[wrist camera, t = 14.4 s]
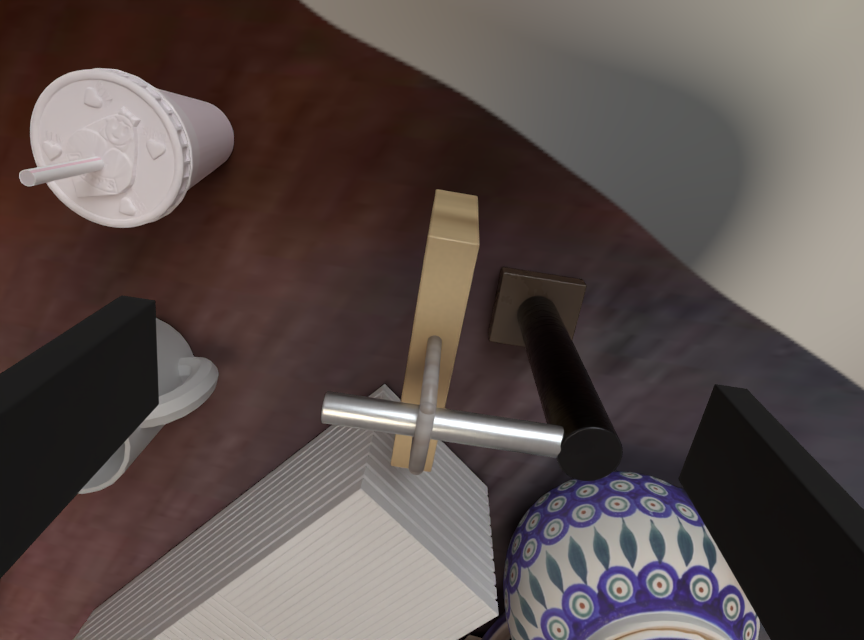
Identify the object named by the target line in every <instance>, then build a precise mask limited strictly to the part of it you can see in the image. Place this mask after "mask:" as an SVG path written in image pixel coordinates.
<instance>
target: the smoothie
mask: <svg viewBox="0 0 864 640" xmlns="http://www.w3.org/2000/svg"><path fill="white" fill-rule="evenodd" d="M30 140H31V147H32V152H33V156H34V159H35V162H36V164H37V168H32V169H27V170H22V171H21V172H20V174H19V178H20V181H21V182H22V183H23V184H24V185H26V186H34V185H38V184H43V183H47V185H48V186H49V188H50V189H51V190H52V191H53V193H54V194H55V195H56V196H57V197H58V198H59V199H60V200H61V201H62V202H63V203H64V204H65V205H66V206H67V207H69V208H70V209H71V210H73V211H74V212H76V213H77V214H79V215H80V216H82V217H84V218H86V219H88V220H90V221H92V222H95V223H98V224H101V225H105V226H109V227H117V228H129V227H136V226H140V225H143V224H146V223H150V222H155V221H157V220H159V219H160V218H162V217H164V216H166V215H168V214H170V213H171V212H172V211H173V210H174V209H175V208H176V207H177V206H178V204H179V203H180V202H181V201H182V200H183V198H184V196H185V194H186V192H187V190H189V189H190V188H191V187H193V186H194V185H195V184H197V183H198V182H199V181H201V180H202V179H203V178H204V177H206V176H207V175H208V174H210V173H211V172H212V171H214V170H215V169H216V168H218V167H219V166H220V165H222V164H223V163H224V162H225V161H226V160H227V159H228V158H229V156H230V155H231V152H232V150H233V146H234V134H233V129H232V126H231V124H230V122H229V120H228V119H227V117H226V116H225V114H224V113H223V112H222V111H221V110H220V109H218V108H217V107H216V106H214V105H212V104H210V103H208V102H204V101H201V100H197V99H193V98H190V97H186V96H182V95H179V94H175V93H171V92H168V91H164V90H160V89H157V88H155V87H153V86H152V85H150V84H148V83H147V82H145V81H144V80H142V79H141V78H139V77H137V76H135V75H132V74H129V73H126V72H123V71H120V70H117V69H103V68H94V69H89V70H78V71H74V72H70V73H68V74H65V75H63V76H61V77H59V78H57V79H56V80H55V81H53V82H52V83H51V84H50V85H49V86H48V87H46V89H45V90H44V91H43V92H42V94H41V95H40V97H39V98H38V100H37V102H36V104H35V107H34V110H33V113H32V117H31V124H30Z"/></svg>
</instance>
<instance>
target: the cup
mask: <svg viewBox="0 0 864 640" xmlns="http://www.w3.org/2000/svg"><path fill="white" fill-rule="evenodd" d="M156 333H157V361H158V389H159V405H158V406H157V407H156V408H155V409H154V410H153V411H152V412H151V413H150V415H149V416H148V417H147V418H146V419H145V420H144V421H143V422H142V423H141V424H140V426H139V427H138V428H137V429H136V430H135V431H134V432H133V433H132V434H131V435H130V437H129V438H128V439H127V440H126V441H125V442H124V443H123V444H122V445H121V446H120V448H119V449H118V450H117V451H116V452H115V453H114V454H113V455H112V456H111V457H110V459H109V460H108V461H107V462H106V463H105V464H104V465H103V466H102V467H101V468H100V470H99V471H98V472H97V473H96V474H95V475H94V476H93V477H92V478H91V479H90V481H89V482H88V483H87V484H86V485H85V486H84V487H83V488H82V489H81V490H80V492H79V493H78V494H85V493H90V492H95V491H100V490H102V489H104V488H106V487H108V486H110V485H111V484H113V483H114V482H115V481H116V480H117V479H118V478H119V477H120V476H121V475H122V474H123V473H124V472H125V471H126V470H127V468H128V467H129V466H130V465H131V464H132V463H133V461H134V460H135V459H136V458H137V457H138V456H139V454H140V453H141V452H142V451H143V450H144V449H145V447H146V446H147V445H148V444H149V443H150V441H151V440H152V439H153V438H154V437H155V436H156V434H157V433H158V432H159V431H160V430H161V429H162V427H163V426H164V425H165V424H167V423H170V422H172V421H174V420H177V419H179V418H182V417H184V416H186V415H187V414H189V413H190V412H192V411H193V410H195V409H197V408H198V407H199V406H200V405H201V404H203V403H204V402H205V401H206V400H207V399H208V398H209V397H210V395H211V394H212V393H213V391H214V390H215V387H216V385H217V381H218V375H219V373H218V369H217V367H216V366H215V365H214V364H213V363H212V361H210V360H208V359H206V358H203V357H194V355H193V353H192V351H191V349H190V346H189V344H188V343H187V342H186V341H185V339H184V338H183V337H182V335H181V334H180V333H179V332H177V331H176V330H175V329H174V328H173V327H171V326H170V325H169V324H167V323H165V322H163V321H161V320H159V319H157V318H156Z"/></svg>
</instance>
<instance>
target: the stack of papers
mask: <svg viewBox="0 0 864 640" xmlns="http://www.w3.org/2000/svg"><path fill="white" fill-rule="evenodd" d="M369 397H371V398H378V399H384V400H391V401H398V402H401V400H400V399H399V398H398V397H397V396H396V395H395V394H394V393H393V392H392V391H391V390H390V389H389V388H388V387H387V386H386V385H385V384H384V385H383V386H381V387H380V388H379V389H378V390H376V391H375V392H374V393H372V394H371V395H370V396H369ZM394 440H395V434H392V433H386V432H379V431H372V430H365V429H359V428H352V427H345V426H339V425H331V426H330V427H329V428H327V429H326V430H325V431H324V432H322V433H321V434H320V435H318V436H317V437H316V438H315V439H313V440H312V441H311V442H310V443H308V444H307V445H306V446H304V447H303V448H302V449H301V450H299V451H298V452H297V453H295V454H294V455H293V456H292V457H290V458H289V459H288V460H286V461H285V462H284V463H283V464H281V465H280V466H279V467H277V468H276V469H275V470H274V471H272V472H271V473H270V474H268V475H267V476H266V477H265V478H263V479H262V480H261V481H259V482H258V483H257V484H256V485H254V486H253V487H252V488H250V489H249V490H248V491H247V492H245V493H244V494H243V495H241V496H240V497H239V498H238V499H236V500H235V501H234V502H232V503H231V504H230V505H229V506H227V507H226V508H225V509H223V510H222V511H221V512H220V513H218V514H217V515H216V516H214V517H213V518H212V519H211V520H209V521H208V522H207V523H205V524H204V525H203V526H202V527H200V528H199V529H198V530H196V531H195V532H194V533H193V534H191V535H190V536H189V537H187V538H186V539H185V540H184V541H182V542H181V543H180V544H178V545H177V546H176V547H175V548H173V549H172V550H171V551H169V552H168V553H167V554H166V555H164V556H163V557H162V558H161V559H159V560H158V561H157V562H155V563H154V564H153V565H152V566H150V567H149V568H148V569H146V570H145V571H144V572H143V573H141V574H140V575H139V576H137V577H136V578H135V579H134V580H132V581H131V582H130V583H128V584H127V585H126V586H125V587H123V588H122V589H121V590H119V591H118V592H117V593H116V594H114V595H113V596H112V597H110V598H109V599H108V600H107V601H105V602H104V603H103V604H101V605H100V606H99V607H98V608H96V609H95V610H94V611H93V612H92V613H91V615H90V616H89V617H88V619H87V622H85V623H84V625H83V626H82V628H81V629H80V632H79V633H78V634H77V635H76V636H75V638H74V639H73V640H458V639H459V638H461V637H463V636H465V635H466V634H468V633H470V632H471V631H473V630H475V629H476V628H478V627H480V626H482V625H483V624H485V623H487V622H488V621H490V620H492V619H493V618H495V617H497V616H498V615H499V613H498V602H497V601H496V600H495V599H497V590H496V587H495V586H494V585H496V579H495V574H494V573H493V572H494V571H495V568H494V561H493V560H492V559H494V556H493V549H492V548H491V547H493V545H492V538H491V537H490V536H491V535H492V534H491V527H490V526H489V525H490V524H491V522H490V516H489V514H490V511H489V506H488V504H489V500H488V497H487V495H488V488H487V486H486V485H485V484H484V483H483V482H482V481H481V480H480V479H479V478H478V477H477V476H476V475H475V474H474V473H473V472H472V471H471V470H470V469H469V468H468V467H467V466H466V465H465V464H464V463H463V462H462V461H461V460H460V459H459V458H458V457H457V456H456V455H455V454H454V453H453V452H452V451H451V450H450V449H449V448H448V447H447V446H446V445H445V444H444V443H443V442H442V441H439V440H438V442H437V447H436V451H435V456H434V461H433V465H432V470H431V472H426V471H423V472H422V473H421V474H420V475H413V474H411V473H410V471H409V469H407V468H401V467H395V466H391V458H392V452H393V446H394Z"/></svg>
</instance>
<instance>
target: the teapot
mask: <svg viewBox="0 0 864 640" xmlns="http://www.w3.org/2000/svg"><path fill="white" fill-rule="evenodd" d="M503 590H504V604H505V612H503V613H502V614H501V615H500V616H499V617H498V618H497V620H496V621H495V622H494V623H493V625H492V626H491V627H490V629H489V630H488V631H487V632H486V634H485V635H484V636H483V638H482V639H481V640H509V639H510V638H512V640H759V629H760V623H759V618H758V616H757V615H756V613H755V611H754V609H753V608H752V606H751V604H750V602H749V601H748V599H747V597H746V595H745V594H744V592H743V590H742V589H741V587H740V585H739V583H738V582H737V580H736V578H735V576H734V575H733V573H732V571H731V569H730V568H729V566H728V564H727V562H726V561H725V559H724V557H723V556H722V554H721V552H720V550H719V549H718V547H717V545H716V543H715V542H714V540H713V538H712V536H711V535H710V533H709V531H708V529H707V528H706V526H705V524H704V523H703V521H702V519H701V517H700V516H699V514H698V512H697V510H696V509H695V507H694V505H693V503H692V502H691V500H690V498H689V496H688V495H687V493H686V491H685V490H684V488H677V487H675V486H673V485H671V484H670V483H668V482H666V481H663V480H660V479H658V478H655V477H652V476H649V475H644V474H639V473H634V472H620V471H615V472H612V473H611V474H609V475H608V476H606V477H604V478H602V479H599V480H595V481H581V480H577V479H573V480H570V481H567V482H565V483H563V484H561V485H559V486H557V487H555V488H553V489H552V490H550V491H549V492H547V493H546V494H545V495H543V496H542V497H540V498H539V499H538V500H537V501H536V502H535V503H534V504H533V505H532V506H531V507H530V508H529V509H528V511H527V512H526V513H525V515H524V516H523V517H522V519H521V520H520V522H519V524H518V526H517V528H516V530H515V532H514V534H513V536H512V538H511V540H510V544H509V547H508V550H507V555H506V560H505V568H504V580H503Z"/></svg>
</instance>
